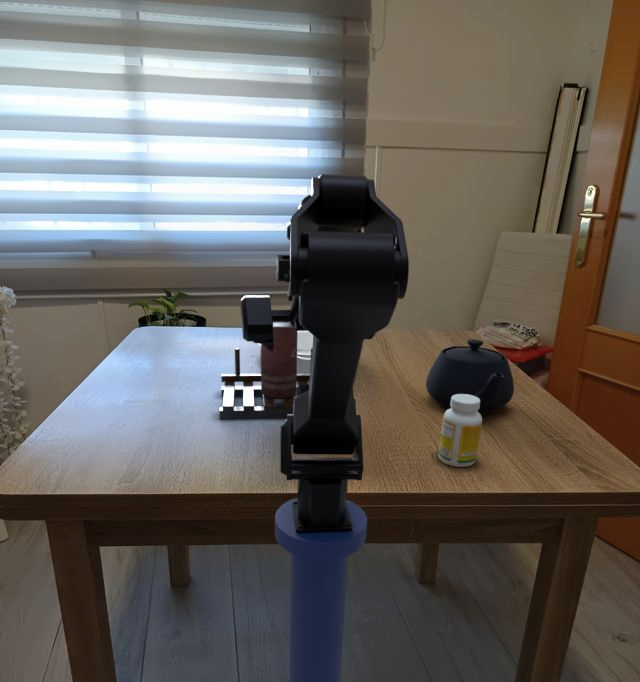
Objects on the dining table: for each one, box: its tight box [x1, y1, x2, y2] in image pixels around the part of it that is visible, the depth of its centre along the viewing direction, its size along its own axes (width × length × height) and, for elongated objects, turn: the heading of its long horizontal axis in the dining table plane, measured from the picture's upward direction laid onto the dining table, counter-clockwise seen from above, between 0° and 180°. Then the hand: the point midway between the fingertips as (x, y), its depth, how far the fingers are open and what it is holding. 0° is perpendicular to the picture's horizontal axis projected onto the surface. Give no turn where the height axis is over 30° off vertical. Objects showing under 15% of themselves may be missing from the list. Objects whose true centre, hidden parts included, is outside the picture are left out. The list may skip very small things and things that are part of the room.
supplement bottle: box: [438, 394, 483, 468], centre depth 82 cm, size 5×5×10 cm
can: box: [260, 328, 297, 401], centre depth 98 cm, size 6×6×14 cm
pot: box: [256, 331, 313, 374], centre depth 128 cm, size 29×22×5 cm
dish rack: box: [218, 347, 312, 420], centre depth 101 cm, size 14×20×9 cm
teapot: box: [425, 338, 515, 415], centre depth 103 cm, size 25×16×12 cm, turn 5°
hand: (300, 347), depth 87 cm, fingers open, 9 cm apart
